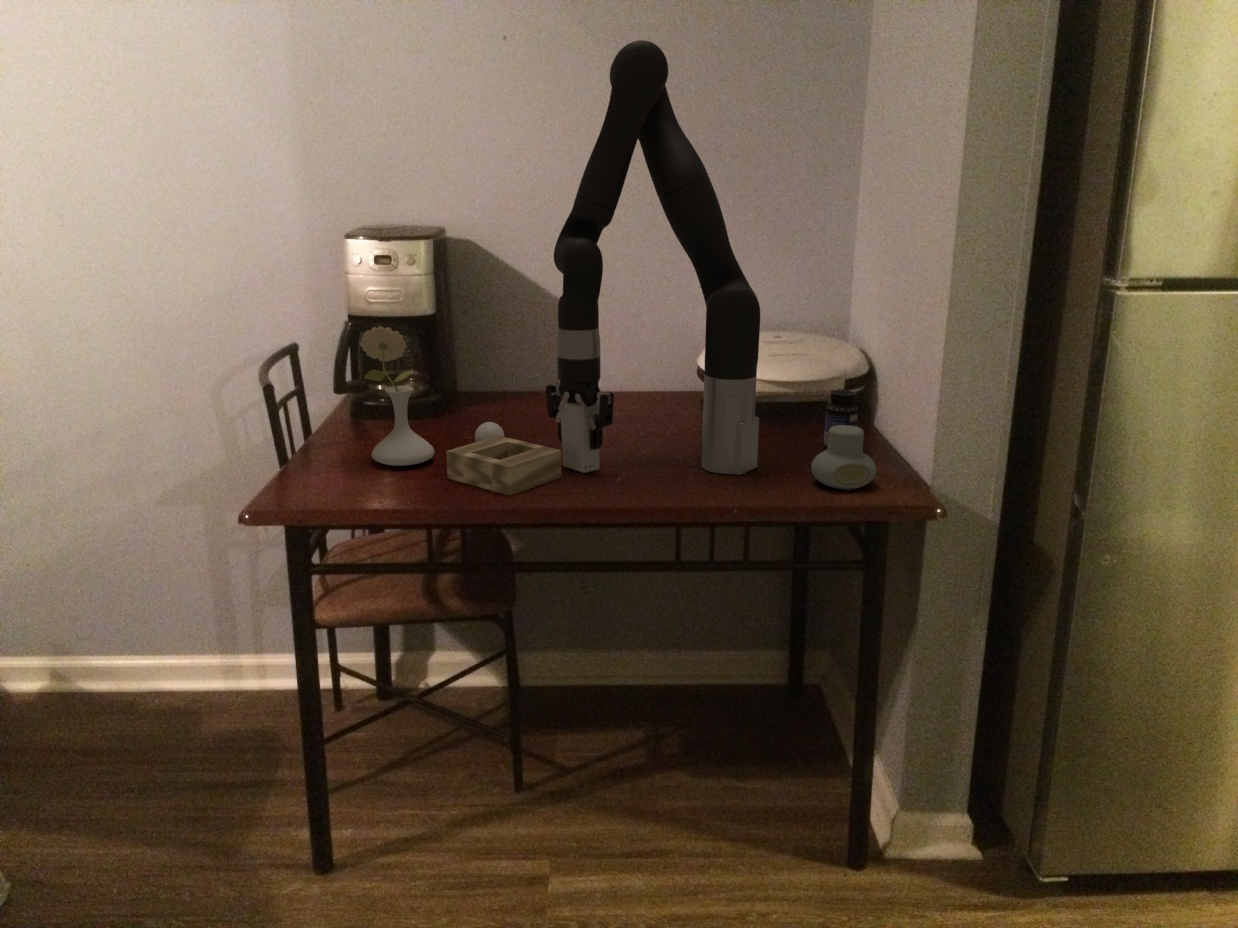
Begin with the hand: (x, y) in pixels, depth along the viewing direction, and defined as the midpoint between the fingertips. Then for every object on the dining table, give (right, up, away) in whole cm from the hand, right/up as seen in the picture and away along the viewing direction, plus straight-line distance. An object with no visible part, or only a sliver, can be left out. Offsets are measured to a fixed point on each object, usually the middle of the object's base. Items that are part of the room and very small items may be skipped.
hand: (579, 445), depth 182 cm
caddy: (-13, -6, -3) cm, 15 cm away
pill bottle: (+50, 0, +16) cm, 52 cm away
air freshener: (+46, -7, -6) cm, 47 cm away
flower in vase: (-34, -3, +6) cm, 34 cm away
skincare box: (0, -4, +1) cm, 4 cm away
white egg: (-19, -1, +13) cm, 23 cm away
